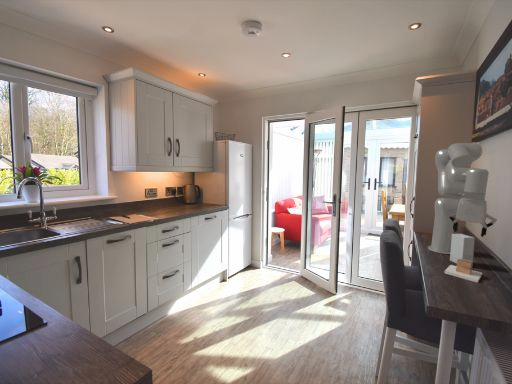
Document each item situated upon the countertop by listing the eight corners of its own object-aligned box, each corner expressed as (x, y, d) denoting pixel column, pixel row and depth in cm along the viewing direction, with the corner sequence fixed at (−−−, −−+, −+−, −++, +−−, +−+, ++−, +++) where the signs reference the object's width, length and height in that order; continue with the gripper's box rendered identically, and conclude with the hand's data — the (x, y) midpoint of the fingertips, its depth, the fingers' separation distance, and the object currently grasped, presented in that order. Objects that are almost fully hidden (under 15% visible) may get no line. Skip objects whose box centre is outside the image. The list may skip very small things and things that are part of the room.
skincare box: (472, 266, 132) (476, 237, 130) (460, 266, 132) (465, 237, 130) (459, 260, 140) (462, 233, 139) (448, 260, 140) (451, 232, 138)
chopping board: (450, 267, 130) (450, 264, 130) (481, 275, 121) (482, 272, 121) (444, 273, 122) (444, 270, 122) (477, 282, 113) (478, 279, 113)
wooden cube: (458, 268, 125) (459, 258, 125) (471, 272, 122) (472, 261, 121) (455, 271, 122) (457, 260, 121) (469, 274, 118) (471, 264, 118)
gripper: (448, 194, 121) (443, 230, 123) (499, 199, 109) (492, 240, 111) (452, 193, 126) (447, 228, 128) (501, 198, 114) (494, 237, 116)
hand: (468, 233), depth 120 cm, fingers open, 9 cm apart
